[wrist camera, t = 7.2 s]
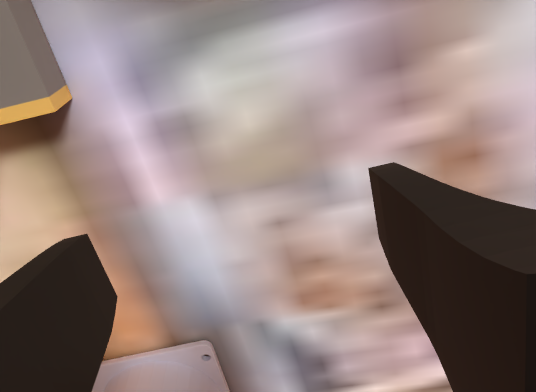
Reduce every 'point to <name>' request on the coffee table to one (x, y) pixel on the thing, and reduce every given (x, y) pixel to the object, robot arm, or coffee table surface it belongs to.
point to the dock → (27, 66)
